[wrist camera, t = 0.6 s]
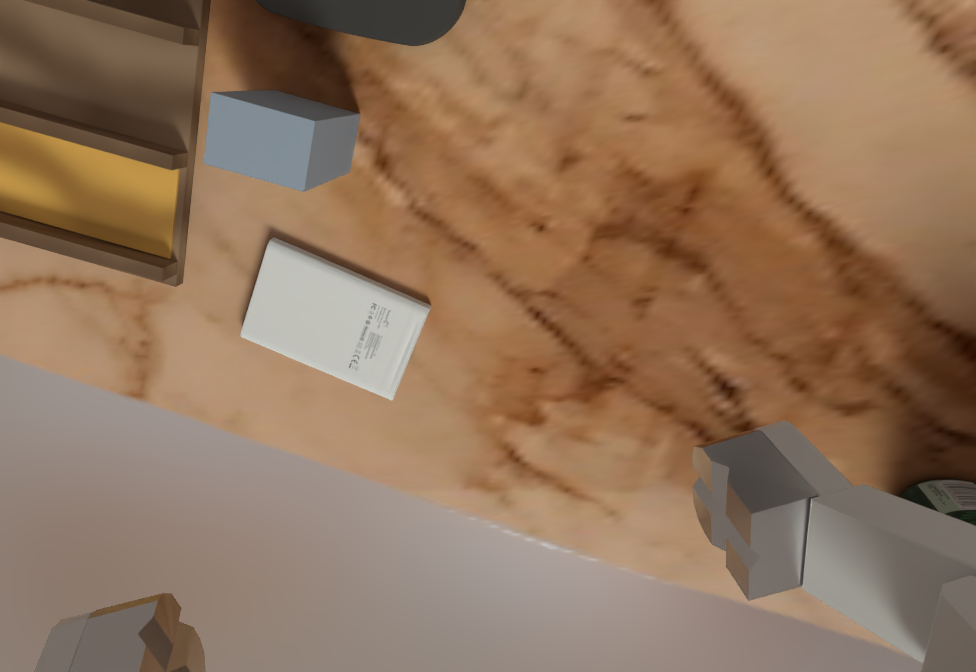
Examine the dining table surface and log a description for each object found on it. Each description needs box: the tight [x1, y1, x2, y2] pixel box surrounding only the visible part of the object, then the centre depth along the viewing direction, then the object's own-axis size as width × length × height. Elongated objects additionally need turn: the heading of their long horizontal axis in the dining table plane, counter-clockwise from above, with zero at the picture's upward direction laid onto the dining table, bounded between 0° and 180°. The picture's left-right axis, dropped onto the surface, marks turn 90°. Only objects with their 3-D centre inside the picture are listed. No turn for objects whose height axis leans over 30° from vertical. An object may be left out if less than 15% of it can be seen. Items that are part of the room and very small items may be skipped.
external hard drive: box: [240, 237, 431, 400], centre depth 52 cm, size 2×8×12 cm
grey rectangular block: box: [204, 90, 360, 192], centre depth 43 cm, size 4×6×9 cm, turn 75°
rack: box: [0, 0, 210, 287], centre depth 44 cm, size 27×16×7 cm, turn 165°
